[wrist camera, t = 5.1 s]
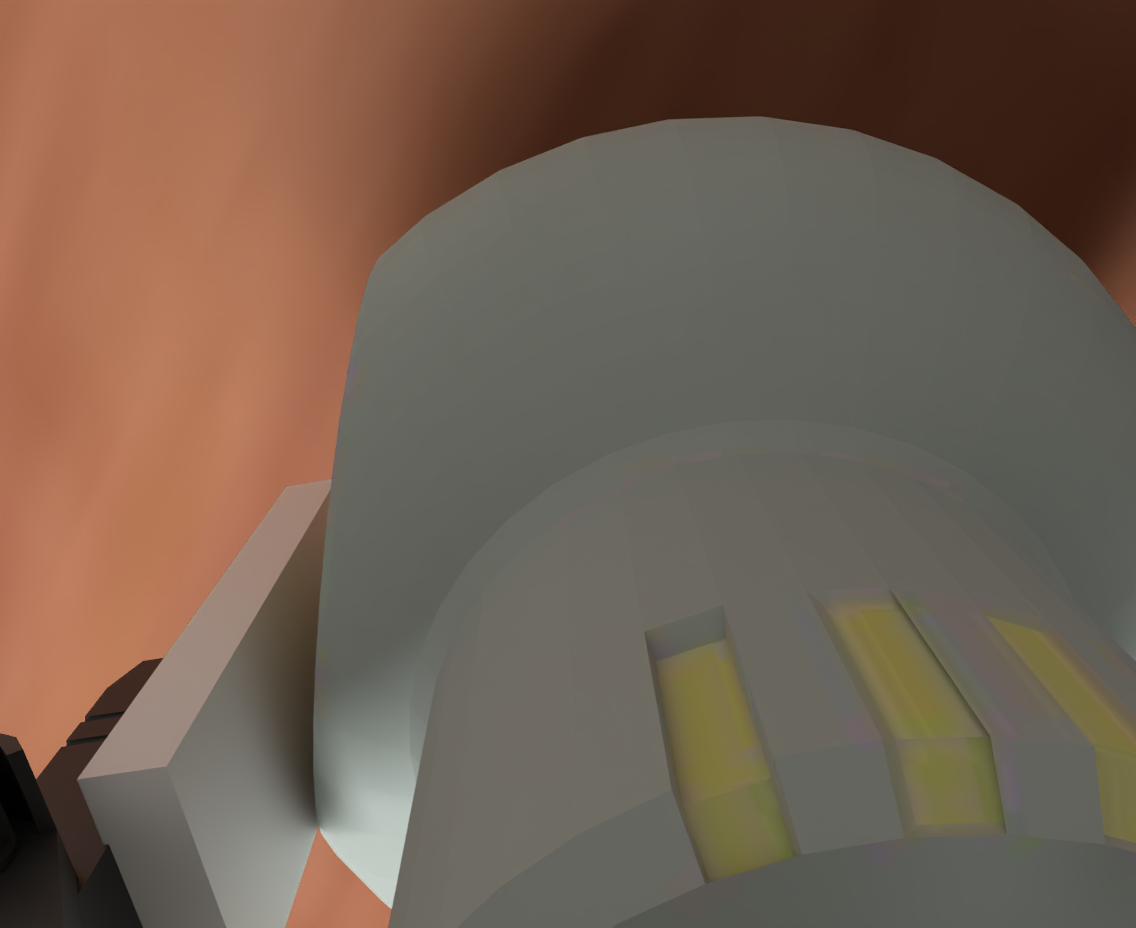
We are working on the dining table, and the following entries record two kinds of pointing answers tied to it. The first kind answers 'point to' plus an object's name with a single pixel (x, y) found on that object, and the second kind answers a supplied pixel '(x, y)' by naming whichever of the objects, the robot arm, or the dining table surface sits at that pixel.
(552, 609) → the air freshener
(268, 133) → the dining table surface
